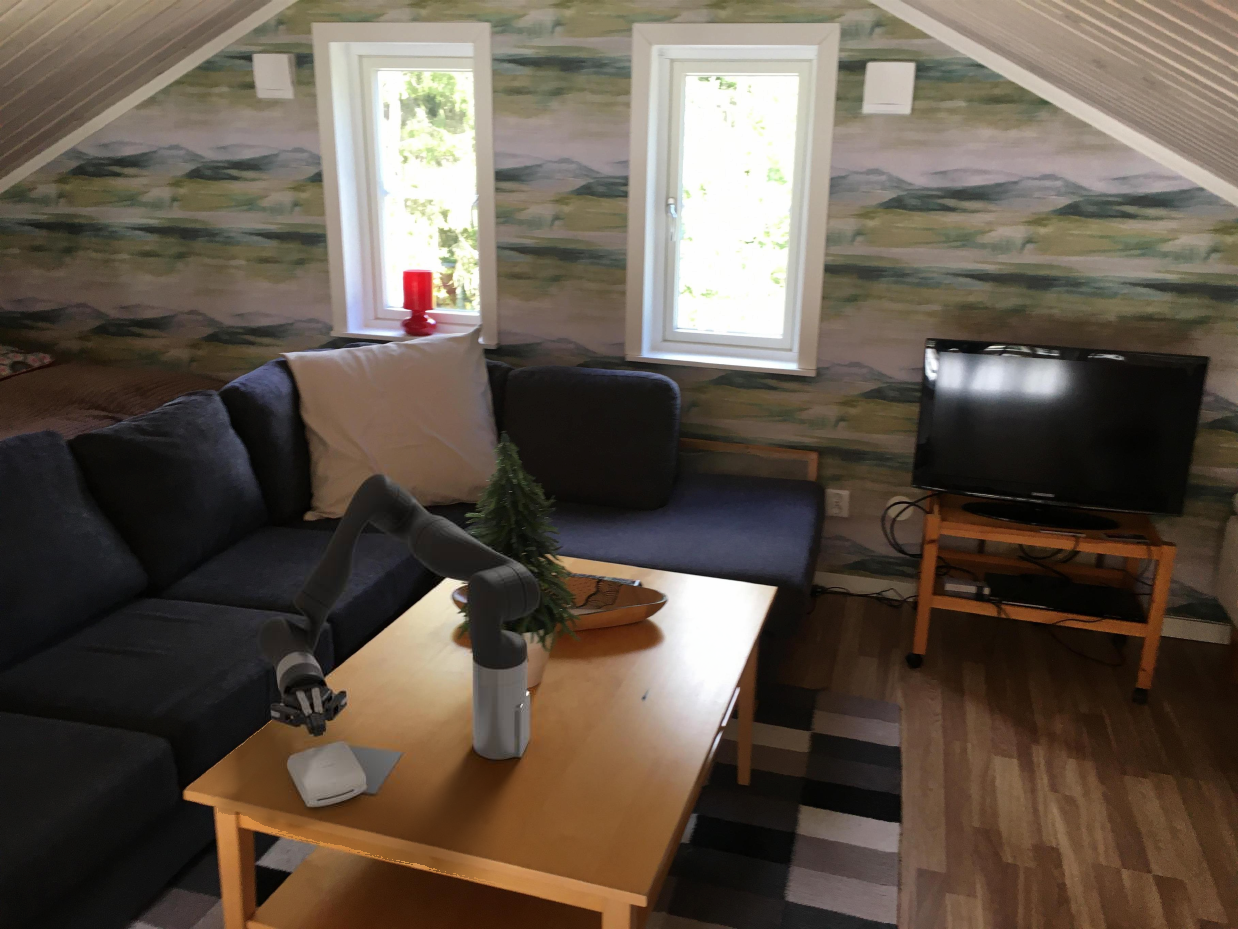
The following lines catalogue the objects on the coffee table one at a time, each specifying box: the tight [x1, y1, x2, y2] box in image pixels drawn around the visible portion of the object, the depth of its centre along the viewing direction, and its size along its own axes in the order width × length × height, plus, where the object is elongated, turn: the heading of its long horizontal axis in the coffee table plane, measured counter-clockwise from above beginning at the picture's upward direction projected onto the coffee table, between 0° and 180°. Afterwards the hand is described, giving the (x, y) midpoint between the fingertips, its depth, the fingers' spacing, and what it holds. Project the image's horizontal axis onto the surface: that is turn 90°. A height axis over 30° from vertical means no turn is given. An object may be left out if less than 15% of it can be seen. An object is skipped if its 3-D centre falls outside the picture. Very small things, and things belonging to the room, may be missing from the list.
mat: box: [348, 744, 404, 796], centre depth 171 cm, size 11×12×1 cm
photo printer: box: [286, 740, 367, 808], centre depth 165 cm, size 10×4×12 cm
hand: (318, 731), depth 164 cm, fingers closed
